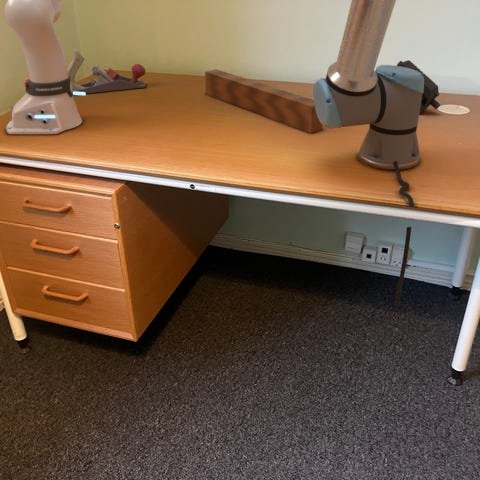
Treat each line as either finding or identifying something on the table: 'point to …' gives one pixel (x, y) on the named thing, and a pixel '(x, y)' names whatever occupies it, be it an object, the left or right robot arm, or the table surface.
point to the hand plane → (104, 77)
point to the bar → (263, 100)
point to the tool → (429, 88)
